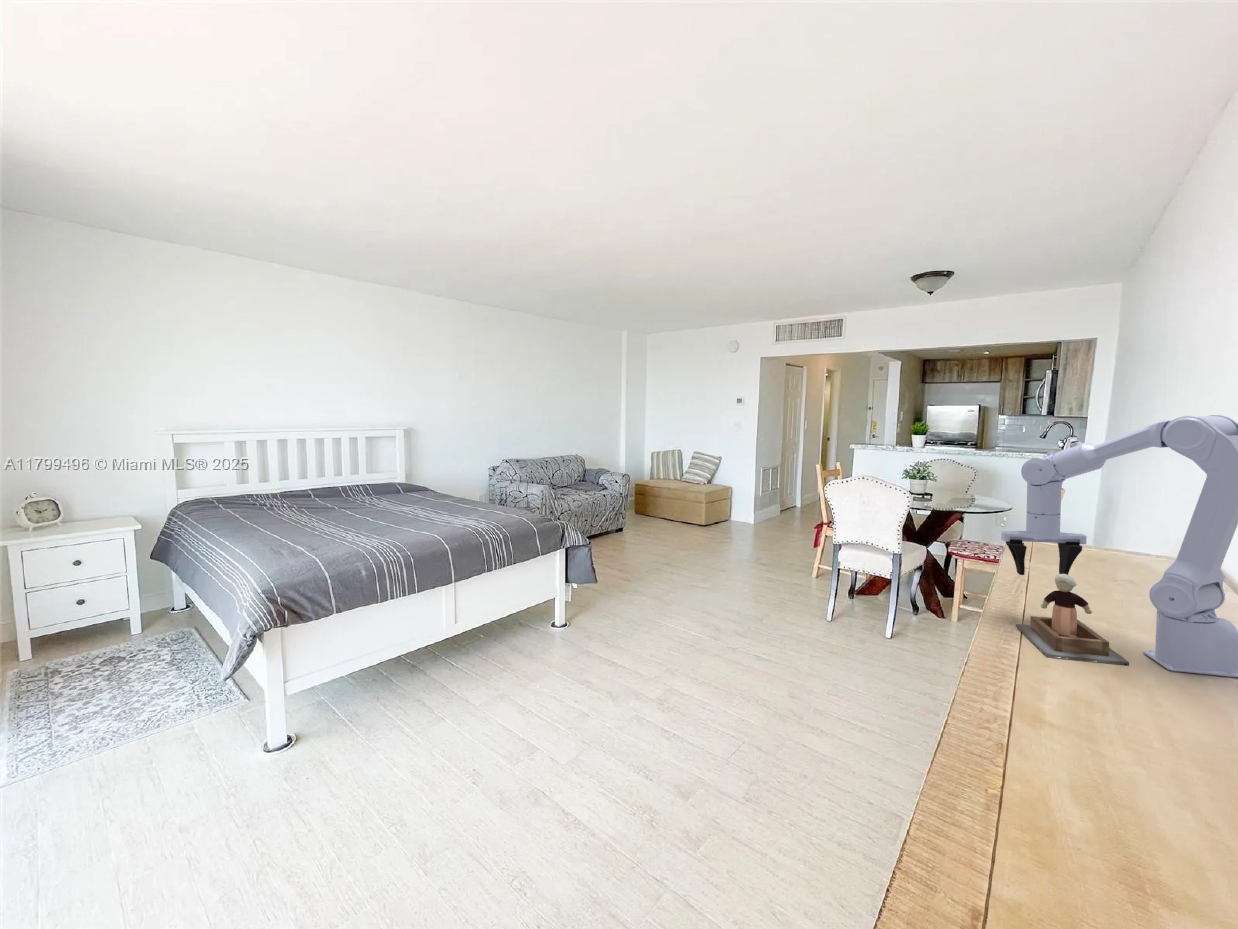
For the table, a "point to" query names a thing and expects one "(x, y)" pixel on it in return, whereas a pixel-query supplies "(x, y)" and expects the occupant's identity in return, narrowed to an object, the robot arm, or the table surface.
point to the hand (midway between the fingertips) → (1041, 575)
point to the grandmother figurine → (1065, 606)
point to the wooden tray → (1070, 642)
